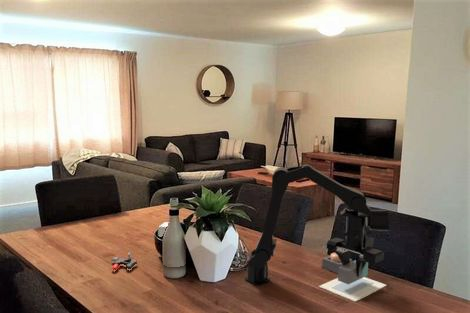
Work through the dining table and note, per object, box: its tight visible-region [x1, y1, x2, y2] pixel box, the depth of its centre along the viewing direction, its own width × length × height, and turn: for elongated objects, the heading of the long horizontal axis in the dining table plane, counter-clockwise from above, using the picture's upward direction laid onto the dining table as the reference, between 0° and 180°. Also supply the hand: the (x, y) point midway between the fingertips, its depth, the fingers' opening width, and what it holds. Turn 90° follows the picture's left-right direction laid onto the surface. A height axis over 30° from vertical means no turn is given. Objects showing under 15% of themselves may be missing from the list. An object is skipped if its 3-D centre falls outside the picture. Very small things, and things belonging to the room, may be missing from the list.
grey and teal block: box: [337, 259, 369, 284], centre depth 144 cm, size 11×4×4 cm, turn 130°
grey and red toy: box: [111, 251, 138, 270], centre depth 160 cm, size 10×12×5 cm
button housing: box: [320, 255, 353, 274], centre depth 160 cm, size 8×8×4 cm
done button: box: [330, 252, 341, 263], centre depth 159 cm, size 5×5×3 cm
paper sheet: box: [318, 276, 387, 303], centre depth 144 cm, size 18×14×1 cm
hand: (353, 274), depth 144 cm, fingers closed on grey and teal block, 4 cm apart
